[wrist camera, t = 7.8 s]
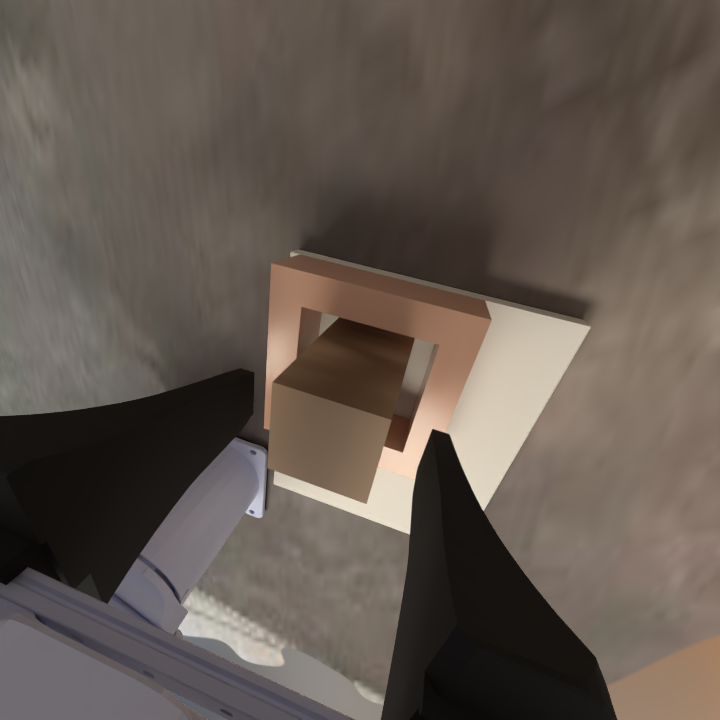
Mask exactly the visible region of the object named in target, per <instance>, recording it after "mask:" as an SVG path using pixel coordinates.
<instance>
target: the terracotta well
mask: <svg viewBox="0 0 720 720" xmlns="http://www.w3.org/2000/svg"><path fill="white" fill-rule="evenodd" d="M322 313H326V314H330V315H333V316H337V317H341V318H344V319H348V320H351V321H355V322H359V323H362V324H366V325H370V326H373V327H377V328H380V329H384V330H388V331H391V332H395V333H399V334H402V335H406V336H409V337H413V338H417V339H420V340H424V341H428V342H431V343H435V344H434V347H433V350H432V353H431V356H430V359H429V362H428V365H427V368H426V371H425V374H424V377H423V380H422V383H421V386H420V389H419V392H418V395H417V398H416V401H415V404H414V407H413V411H412V414H411V417H410V419H408V418H404V417H401V416H398V415H395V414H393V417H392V420H391V424H390V427H389V430H388V434H387V437H386V440H385V444H384V447H383V451H382V454H381V457H380V461H379V464H378V468H380V469H383V470H386V471H389V472H392V473H395V474H398V475H401V476H404V477H407V478H410V479H412V480H415V478H416V472H417V468H418V465H419V462H420V460H421V457H422V455H423V452H424V449H425V447H426V444H427V442H428V439H429V436H430V434H431V431H432V429H435V430H438V431H441V432H444V433H445V432H446V430H447V427H448V425H449V422H450V420H451V418H452V415H453V413H454V410H455V408H456V405H457V403H458V401H459V398H460V396H461V393H462V391H463V389H464V386H465V384H466V381H467V379H468V377H469V374H470V372H471V369H472V367H473V364H474V362H475V360H476V357H477V355H478V352H479V350H480V348H481V345H482V343H483V340H484V338H485V335H486V333H487V331H488V328H489V326H490V323H491V321H492V319H491V316H490V313H489V310H488V308H487V305H486V302H485V300H481V299H477V298H473V297H469V296H465V295H461V294H457V293H453V292H449V291H445V290H441V289H437V288H433V287H429V286H425V285H421V284H417V283H413V282H409V281H405V280H401V279H397V278H393V277H389V276H385V275H381V274H377V273H373V272H369V271H365V270H361V269H357V268H353V267H349V266H345V265H341V264H337V263H333V262H329V261H325V260H321V259H317V258H313V257H309V256H305V255H301V254H299V255H296V256H293V257H290V258H286V259H283V260H280V261H277V262H273V263H271V279H270V302H269V324H268V346H267V368H266V390H265V413H264V429H267V430H270V413H271V395H272V382H273V381H274V380H275V379H276V378H277V377H278V376H279V375H280V374H281V373H282V372H283V371H284V370H285V369H286V368H287V367H288V366H289V365H290V364H291V363H292V362H293V361H294V360H295V359H296V358H298V357H299V356H300V355H301V354H302V353H303V352H304V351H305V350H306V349H307V348H308V347H309V346H310V345H311V344H312V343H313V342H314V341H315V340H316V339H317V338H318V337H319V331H320V323H321V316H322Z"/></svg>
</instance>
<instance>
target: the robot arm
mask: <svg viewBox="0 0 720 720" xmlns="http://www.w3.org/2000/svg"><path fill="white" fill-rule="evenodd" d="M253 402H254V372H250V371H247V370H244V369H241V368H240V369H236V370H233V371H230V372H226V373H223V374H220V375H217V376H214V377H212V378H209V379H206V380H203V381H200V382H197V383H194V384H191V385H187V386H184V387H181V388H177V389H174V390H171V391H167V392H164V393H160V394H157V395H153V396H149V397H145V398H141V399H136V400H132V401H127V402H122V403H117V404H111V405H105V406H99V407H93V408H87V409H80V410H72V411H64V412H54V413H44V414H32V415H16V416H0V720H209V719H207V718H206V717H204V716H202V715H200V714H199V713H197V712H195V711H194V710H192V709H190V708H188V707H187V706H185V705H184V704H183V703H182V702H181V701H180V700H179V699H178V698H177V697H175V696H174V695H173V694H171V693H170V692H169V691H168V690H170V691H171V692H174V693H175V694H177V695H179V696H182V697H184V698H185V699H187V700H190V701H192V702H194V703H196V704H198V705H200V706H202V707H204V708H206V709H208V710H210V711H212V712H214V713H216V714H218V715H220V716H222V717H224V718H226V719H228V720H355V719H353V718H350V717H348V716H346V715H344V714H342V713H339V712H338V711H335V710H333V709H331V708H329V707H327V706H324V705H323V704H320V703H318V702H316V701H314V700H312V699H310V698H308V697H305V696H303V695H301V694H299V693H297V692H295V691H292V690H290V689H288V688H286V687H284V686H281V685H280V684H277V683H275V682H273V681H271V680H269V679H267V678H265V677H263V676H260V675H258V674H256V673H254V672H252V671H250V670H247V669H245V668H243V667H241V666H239V665H237V664H235V663H233V662H230V661H228V660H226V659H224V658H222V657H220V656H217V655H215V654H213V653H211V652H209V651H207V650H205V649H202V648H200V647H198V646H196V645H194V644H192V643H190V642H187V641H185V640H183V635H182V632H181V631H180V630H179V629H178V627H179V625H180V624H181V622H182V621H183V619H184V618H185V616H186V615H187V613H188V611H187V610H186V609H185V608H184V607H183V606H182V605H183V603H184V602H185V600H186V599H187V598H188V596H189V595H190V593H191V592H192V590H193V589H194V587H195V586H196V584H197V583H198V581H199V580H200V578H201V577H202V575H203V574H204V572H205V571H206V570H207V568H208V567H209V565H210V564H211V562H212V561H213V559H214V558H215V556H216V555H217V553H218V552H219V550H220V549H221V547H222V546H223V544H224V543H225V542H226V540H227V539H228V537H229V536H230V534H231V533H232V531H233V530H234V528H235V527H236V525H237V524H238V522H239V521H240V519H241V518H242V516H243V515H244V514H245V513H247V514H249V515H252V516H255V517H257V518H261V517H262V516H263V515H264V513H265V495H266V477H267V459H268V452H267V450H266V449H265V448H264V447H262V446H259V445H256V444H253V443H250V442H247V441H245V440H242V439H239V438H236V436H237V435H238V434H239V433H240V431H241V430H242V428H243V427H244V426H245V424H246V423H247V422H248V420H249V419H250V417H251V416H252V414H253ZM381 720H617V718H616V715H615V712H614V708H613V705H612V702H611V699H610V695H609V692H608V689H607V686H606V683H605V680H604V678H603V675H602V673H601V670H600V667H599V665H598V662H597V660H596V657H595V656H594V655H593V654H592V653H591V652H590V650H589V649H588V648H587V647H586V646H585V645H584V644H583V643H582V641H581V640H580V639H579V638H578V637H577V636H576V635H575V634H574V633H573V631H572V630H571V629H570V628H569V627H568V626H567V625H566V624H565V622H564V621H563V620H562V619H561V618H560V617H559V616H558V615H557V613H556V612H555V611H554V610H553V609H552V608H551V606H550V605H549V604H548V603H547V601H546V600H545V599H544V598H543V596H542V595H541V594H540V593H539V592H538V590H537V589H536V588H535V587H534V585H533V584H532V583H531V581H530V580H529V579H528V578H527V576H526V575H525V574H524V572H523V571H522V570H521V568H520V567H519V565H518V564H517V563H516V561H515V560H514V558H513V557H512V556H511V554H510V553H509V551H508V550H507V549H506V547H505V546H504V544H503V543H502V541H501V540H500V538H499V537H498V535H497V533H496V532H495V530H494V529H493V527H492V525H491V524H490V522H489V520H488V518H487V517H486V515H485V513H484V511H483V510H482V508H481V506H480V504H479V502H478V500H477V498H476V496H475V494H474V492H473V490H472V488H471V486H470V484H469V482H468V479H467V477H466V475H465V473H464V470H463V468H462V466H461V463H460V461H459V458H458V456H457V453H456V450H455V448H454V445H453V442H452V439H451V437H450V435H449V434H447V433H444V432H441V431H438V430H435V429H432V431H431V434H430V436H429V439H428V442H427V444H426V447H425V449H424V452H423V455H422V457H421V460H420V462H419V465H418V468H417V472H416V478H415V483H414V489H413V496H412V510H411V525H410V541H409V556H408V565H407V573H406V579H405V586H404V592H403V598H402V605H401V611H400V616H399V622H398V628H397V634H396V640H395V646H394V651H393V657H392V663H391V668H390V674H389V679H388V685H387V690H386V695H385V701H384V706H383V711H382V717H381Z"/></svg>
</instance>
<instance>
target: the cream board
mask: <svg viewBox="0 0 720 720" xmlns="http://www.w3.org/2000/svg"><path fill="white" fill-rule="evenodd" d="M299 254H301V255H305V256H309V257H313V258H317V259H321V260H325V261H329V262H333V263H337V264H341V265H345V266H349V267H353V268H357V269H361V270H365V271H369V272H373V273H377V274H381V275H385V276H389V277H393V278H397V279H401V280H405V281H409V282H413V283H417V284H421V285H425V286H429V287H433V288H437V289H441V290H445V291H449V292H453V293H457V294H461V295H465V296H469V297H473V298H477V299H481V300H485V302H486V305H487V308H488V310H489V313H490V316H491V319H492V321H491V323H490V326H489V328H488V331H487V333H486V335H485V338H484V340H483V343H482V345H481V348H480V350H479V352H478V355H477V357H476V360H475V362H474V364H473V367H472V369H471V372H470V374H469V377H468V379H467V381H466V384H465V386H464V389H463V391H462V393H461V396H460V398H459V401H458V403H457V405H456V408H455V410H454V413H453V415H452V418H451V420H450V422H449V425H448V427H447V430H446V432H445V433H447V434H449V435H450V437H451V439H452V442H453V445H454V448H455V450H456V453H457V456H458V458H459V461H460V463H461V466H462V468H463V470H464V473H465V475H466V477H467V479H468V482H469V484H470V486H471V488H472V490H473V492H474V494H475V496H476V498H477V500H478V502H479V504H480V506H481V508H482V510H483V511H484V509H485V508H486V506H487V504H488V502H489V501H490V499H491V497H492V496H493V494H494V492H495V490H496V489H497V487H498V485H499V484H500V482H501V480H502V478H503V477H504V475H505V473H506V472H507V470H508V468H509V466H510V465H511V463H512V461H513V460H514V458H515V456H516V455H517V453H518V451H519V449H520V448H521V446H522V444H523V443H524V441H525V439H526V437H527V436H528V434H529V432H530V431H531V429H532V427H533V425H534V424H535V422H536V420H537V419H538V417H539V415H540V413H541V412H542V410H543V408H544V407H545V405H546V403H547V401H548V400H549V398H550V396H551V395H552V393H553V391H554V389H555V388H556V386H557V384H558V383H559V381H560V379H561V378H562V376H563V374H564V372H565V371H566V369H567V367H568V366H569V364H570V362H571V360H572V359H573V357H574V355H575V354H576V352H577V350H578V348H579V347H580V345H581V343H582V342H583V340H584V338H585V336H586V335H587V333H588V331H589V330H590V328H591V326H589V325H588V324H587V323H586V322H585V321H584V320H582V319H578V318H574V317H570V316H566V315H562V314H558V313H554V312H550V311H546V310H542V309H538V308H534V307H530V306H526V305H522V304H517V303H513V302H509V301H505V300H501V299H497V298H493V297H489V296H485V295H481V294H477V293H473V292H469V291H465V290H461V289H457V288H453V287H449V286H445V285H441V284H437V283H433V282H429V281H425V280H420V279H416V278H412V277H408V276H404V275H400V274H396V273H392V272H388V271H384V270H380V269H376V268H372V267H368V266H364V265H360V264H356V263H352V262H348V261H344V260H340V259H336V258H332V257H328V256H323V255H319V254H315V253H311V252H307V251H303V250H296V251H292V252H291V254H290V257H293V256H296V255H299ZM338 318H339V317H337V316H333V315H330V314H326V313H322V316H321V323H320V331H319V336H320V335H321V334H322V333H323V332H324V331H325V330H326V329H327V328H328V327H329V326H330V325H332V324H333V323H334V322H335V321H336V320H337V319H338ZM434 344H435V343H431V342H428V341H424V340H420V339H417V338H415V340H414V343H413V347H412V350H411V354H410V357H409V361H408V364H407V368H406V371H405V375H404V378H403V382H402V385H401V389H400V392H399V396H398V399H397V403H396V406H395V410H394V413H393V414H395V415H398V416H401V417H404V418H408V419H410V417H411V414H412V411H413V407H414V404H415V401H416V398H417V395H418V392H419V389H420V386H421V383H422V380H423V377H424V374H425V371H426V368H427V365H428V362H429V359H430V356H431V353H432V350H433V347H434ZM414 483H415V480H412V479H410V478H407V477H404V476H401V475H398V474H395V473H392V472H389V471H386V470H383V469H380V468H378V467H377V471H376V474H375V477H374V481H373V484H372V488H371V491H370V494H369V498H368V501H367V504H365V503H362V502H359V501H356V500H354V499H351V498H348V497H345V496H343V495H340V494H337V493H334V492H332V491H329V490H326V489H323V488H321V487H318V486H315V485H312V484H310V483H307V482H304V481H301V480H299V479H296V478H293V477H290V476H288V475H285V474H282V473H279V472H277V471H275V473H274V484H275V485H278V486H280V487H283V488H286V489H289V490H291V491H294V492H297V493H299V494H302V495H305V496H307V497H310V498H313V499H316V500H318V501H321V502H324V503H326V504H329V505H332V506H335V507H337V508H340V509H343V510H345V511H348V512H351V513H353V514H356V515H359V516H362V517H364V518H367V519H370V520H372V521H375V522H378V523H380V524H383V525H386V526H389V527H391V528H394V529H397V530H399V531H402V532H405V533H407V534H410V525H411V510H412V496H413V489H414Z"/></svg>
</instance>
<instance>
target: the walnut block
mask: <svg viewBox="0 0 720 720" xmlns="http://www.w3.org/2000/svg"><path fill="white" fill-rule="evenodd" d="M414 340H415V338H413V337H409V336H406V335H402V334H399V333H395V332H391V331H388V330H384V329H380V328H377V327H373V326H370V325H366V324H362V323H359V322H355V321H351V320H348V319H344V318H341V317H339V318H338V319H337V320H336V321H335V322H334V323H333V324H332V325H330V326H329V327H328V328H327V329H326V330H325V331H324V332H323V333H322V334H321V335H320V336H319V337H318V338H317V339H316V340H315V341H314V342H313V343H312V344H311V345H310V346H309V347H308V348H307V349H306V350H305V351H304V352H303V353H302V354H301V355H300V356H299V357H298V358H296V359H295V360H294V361H293V362H292V363H291V364H290V365H289V366H288V367H287V368H286V369H285V370H284V371H283V372H282V373H281V374H280V375H279V376H278V377H277V378H276V379H275V380H274V381H273V382H272V395H271V413H270V431H269V448H268V466H267V468H268V469H271V470H274V471H277V472H279V473H282V474H285V475H288V476H290V477H293V478H296V479H299V480H301V481H304V482H307V483H310V484H312V485H315V486H318V487H321V488H323V489H326V490H329V491H332V492H334V493H337V494H340V495H343V496H345V497H348V498H351V499H354V500H356V501H359V502H362V503H365V504H367V501H368V498H369V494H370V491H371V488H372V484H373V481H374V477H375V474H376V471H377V467H378V464H379V461H380V457H381V454H382V451H383V447H384V444H385V440H386V437H387V434H388V430H389V427H390V424H391V420H392V417H393V413H394V410H395V406H396V403H397V399H398V396H399V392H400V389H401V385H402V382H403V378H404V375H405V371H406V368H407V364H408V361H409V357H410V354H411V350H412V347H413V343H414Z"/></svg>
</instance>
